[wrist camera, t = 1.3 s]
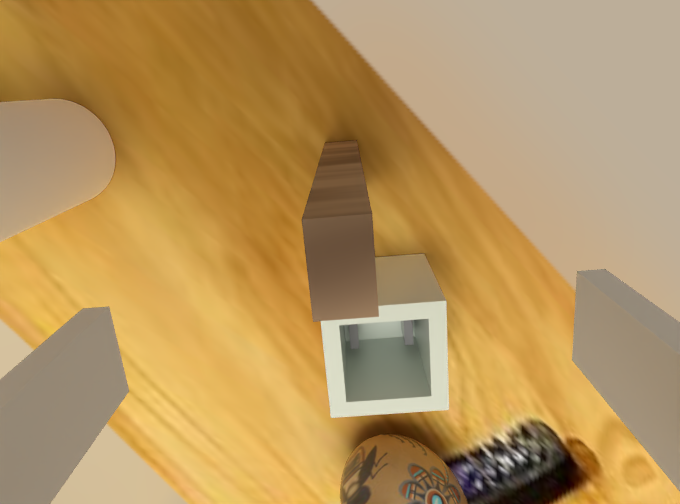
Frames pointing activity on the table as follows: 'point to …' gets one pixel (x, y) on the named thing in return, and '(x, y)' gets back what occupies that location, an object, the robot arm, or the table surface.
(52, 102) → the cup
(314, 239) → the brown wooden plank
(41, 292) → the table surface
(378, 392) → the white square tube
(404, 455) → the ceramic vessel
